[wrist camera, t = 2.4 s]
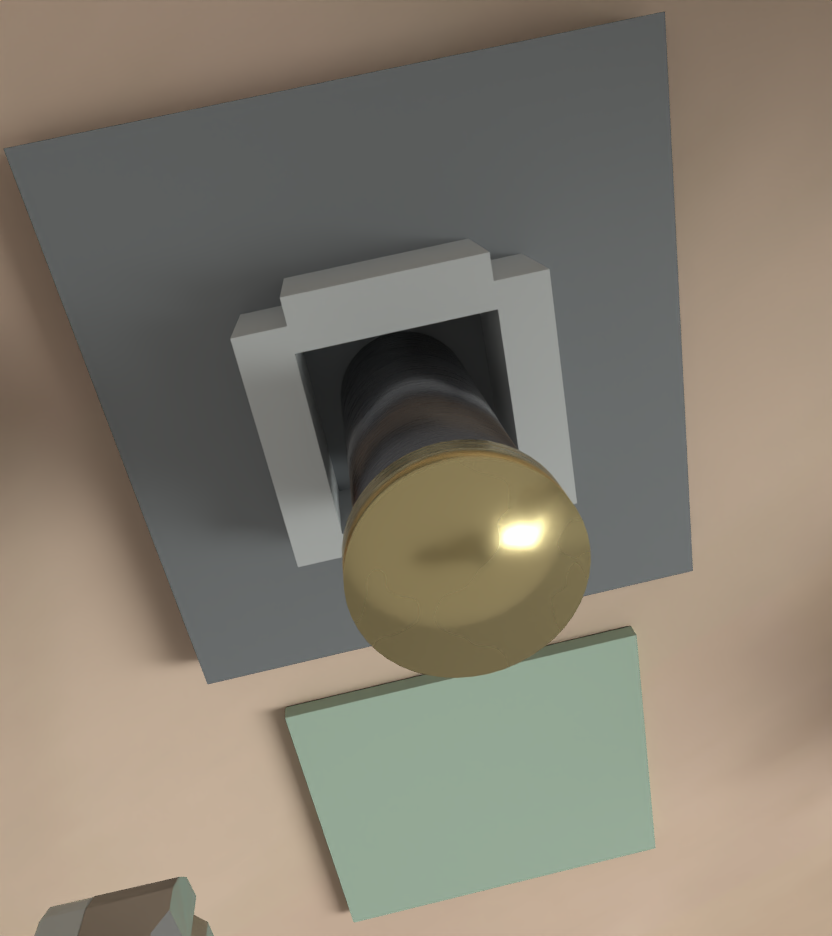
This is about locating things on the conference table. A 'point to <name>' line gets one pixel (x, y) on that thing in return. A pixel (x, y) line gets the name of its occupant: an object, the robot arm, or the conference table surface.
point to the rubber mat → (480, 774)
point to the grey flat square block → (376, 308)
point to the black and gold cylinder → (449, 519)
